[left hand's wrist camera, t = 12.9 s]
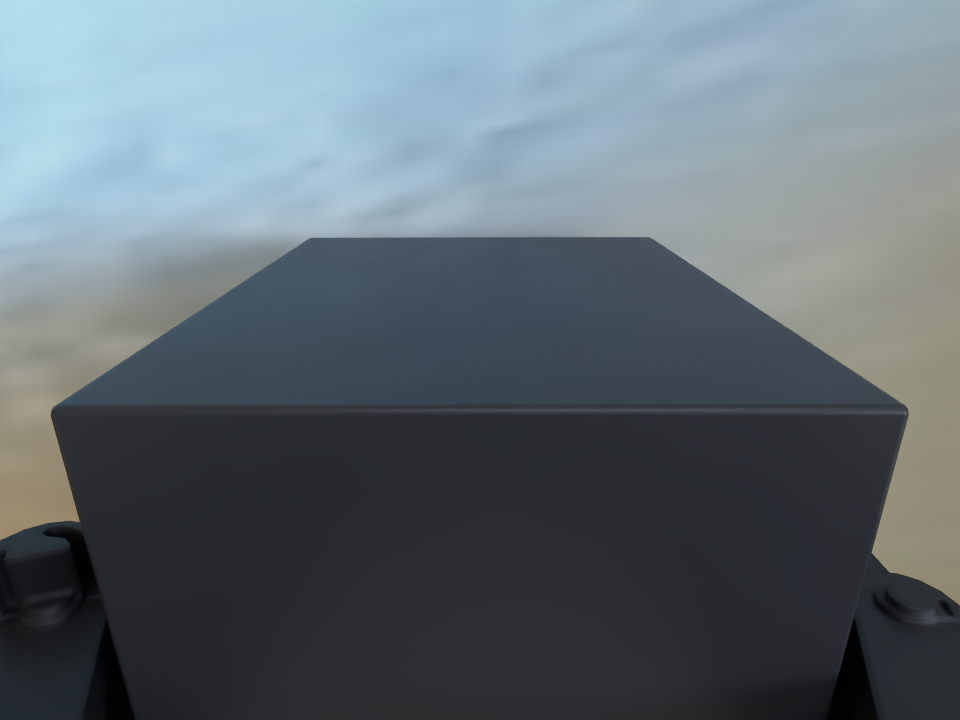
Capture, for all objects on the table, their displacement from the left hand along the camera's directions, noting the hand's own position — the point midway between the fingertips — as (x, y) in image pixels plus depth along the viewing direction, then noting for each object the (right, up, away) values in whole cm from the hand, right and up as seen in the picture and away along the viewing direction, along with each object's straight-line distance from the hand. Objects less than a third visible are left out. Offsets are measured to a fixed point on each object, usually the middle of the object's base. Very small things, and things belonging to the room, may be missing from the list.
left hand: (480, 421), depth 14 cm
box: (0, -7, +3) cm, 8 cm away
